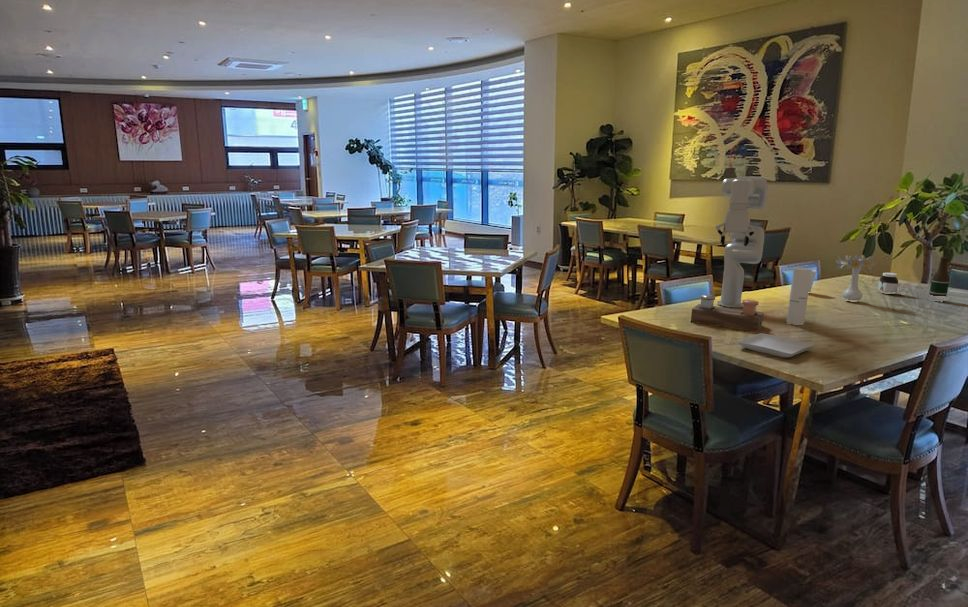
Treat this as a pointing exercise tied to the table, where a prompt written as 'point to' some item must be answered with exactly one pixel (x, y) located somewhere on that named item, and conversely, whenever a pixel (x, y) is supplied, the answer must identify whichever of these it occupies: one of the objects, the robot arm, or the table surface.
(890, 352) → the table surface
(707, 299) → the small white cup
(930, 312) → the table surface
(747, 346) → the salad plate
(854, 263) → the flower vase
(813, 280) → the foam cup
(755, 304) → the terracotta plunger
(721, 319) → the button stand
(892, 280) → the spread jar
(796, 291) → the white tall box
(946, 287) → the beer bottle
